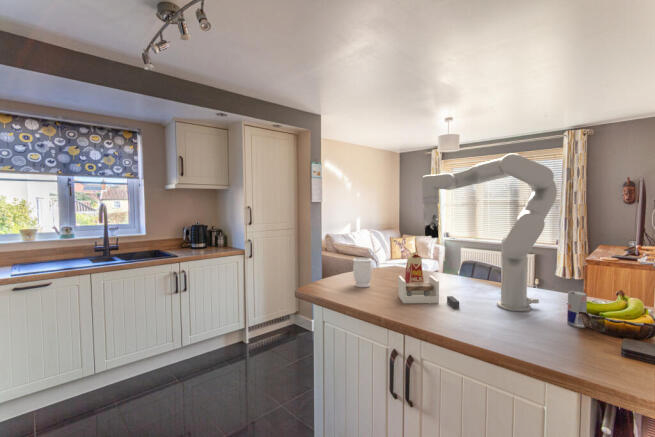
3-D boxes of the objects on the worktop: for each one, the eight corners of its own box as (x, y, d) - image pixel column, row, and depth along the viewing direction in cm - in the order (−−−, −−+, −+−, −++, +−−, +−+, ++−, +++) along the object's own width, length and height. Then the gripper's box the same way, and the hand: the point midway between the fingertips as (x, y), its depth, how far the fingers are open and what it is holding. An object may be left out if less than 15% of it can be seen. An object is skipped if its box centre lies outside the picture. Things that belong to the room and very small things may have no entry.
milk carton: (425, 290, 160) (425, 252, 159) (407, 290, 160) (407, 252, 159) (420, 286, 169) (420, 249, 168) (403, 286, 169) (403, 249, 168)
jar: (350, 284, 175) (350, 257, 174) (367, 282, 178) (366, 256, 177) (357, 289, 165) (357, 261, 164) (375, 287, 168) (375, 259, 167)
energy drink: (567, 321, 116) (568, 289, 116) (585, 324, 113) (586, 292, 112) (566, 325, 112) (567, 293, 112) (586, 329, 109) (587, 295, 108)
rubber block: (452, 302, 140) (452, 296, 140) (459, 308, 132) (459, 301, 132) (447, 302, 140) (447, 296, 140) (453, 308, 132) (453, 301, 132)
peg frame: (431, 295, 151) (431, 275, 150) (438, 303, 140) (438, 281, 139) (398, 295, 151) (398, 275, 151) (403, 303, 140) (403, 281, 140)
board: (406, 290, 143) (406, 286, 142) (404, 287, 148) (404, 283, 148) (432, 290, 142) (432, 286, 142) (429, 287, 148) (429, 283, 148)
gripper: (417, 201, 156) (418, 235, 157) (428, 201, 139) (429, 239, 139) (432, 201, 156) (433, 234, 157) (445, 200, 139) (445, 238, 139)
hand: (431, 236), depth 148 cm, fingers open, 9 cm apart
